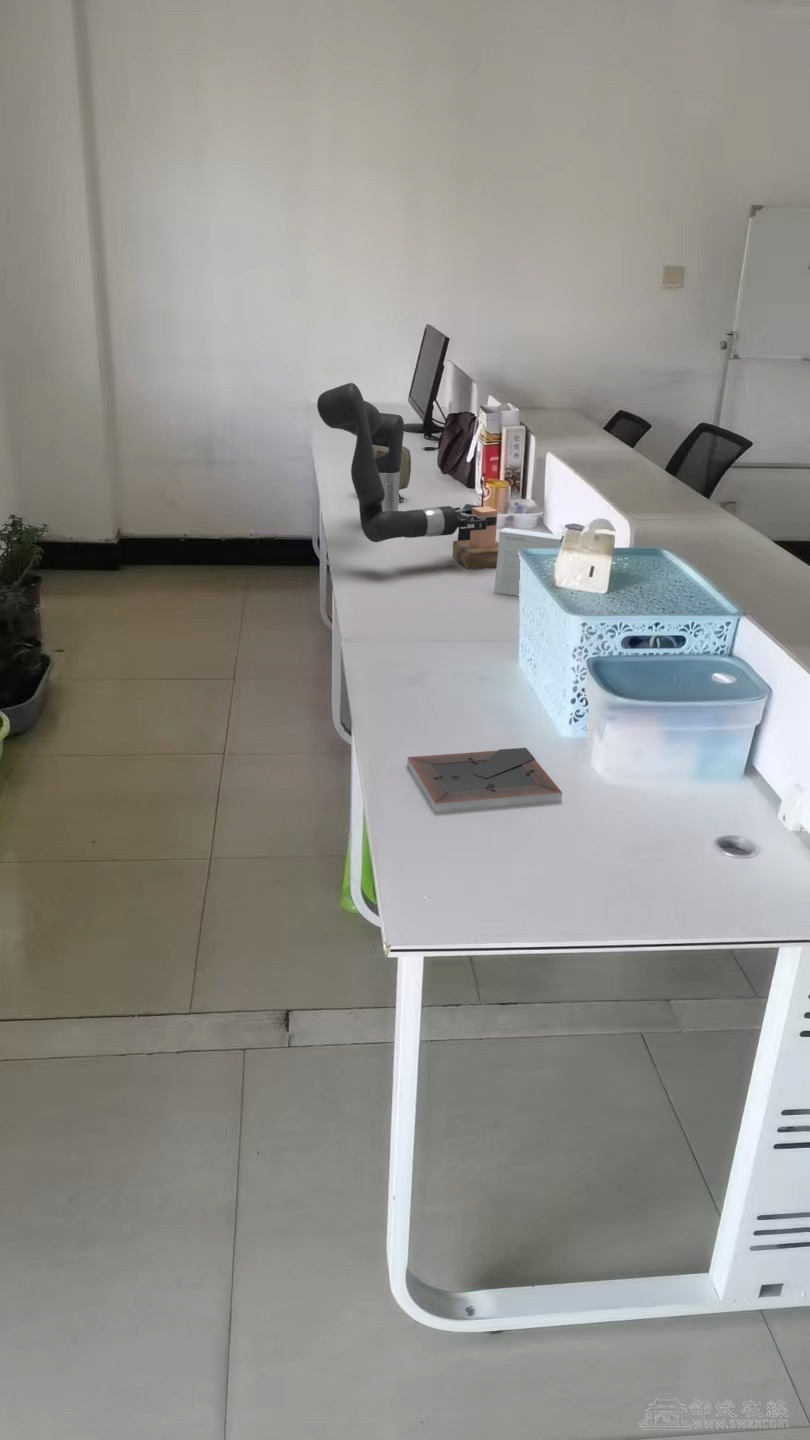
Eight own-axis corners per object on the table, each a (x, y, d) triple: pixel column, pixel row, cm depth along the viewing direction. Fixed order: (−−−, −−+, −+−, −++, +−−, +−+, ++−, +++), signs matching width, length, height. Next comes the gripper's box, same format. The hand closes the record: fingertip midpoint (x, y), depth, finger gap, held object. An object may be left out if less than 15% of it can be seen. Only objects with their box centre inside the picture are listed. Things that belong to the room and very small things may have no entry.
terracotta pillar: (469, 543, 302) (472, 507, 297) (485, 542, 304) (487, 506, 300) (479, 548, 298) (481, 512, 293) (494, 546, 300) (497, 510, 296)
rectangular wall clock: (524, 759, 195) (406, 768, 189) (526, 747, 194) (407, 755, 188) (560, 804, 181) (434, 816, 175) (562, 791, 179) (435, 802, 174)
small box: (478, 550, 313) (482, 514, 309) (456, 548, 314) (459, 511, 310) (484, 541, 322) (487, 505, 318) (462, 538, 324) (464, 503, 319)
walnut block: (452, 558, 306) (453, 540, 304) (491, 556, 310) (493, 539, 308) (469, 571, 296) (470, 553, 294) (509, 568, 300) (511, 551, 298)
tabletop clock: (409, 502, 361) (413, 424, 350) (394, 506, 354) (398, 427, 343) (372, 494, 368) (375, 417, 357) (356, 499, 360) (359, 420, 350)
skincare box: (579, 599, 277) (587, 537, 271) (575, 606, 273) (583, 543, 266) (498, 587, 283) (504, 526, 276) (493, 592, 278) (498, 531, 272)
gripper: (451, 514, 283) (503, 509, 291) (422, 501, 294) (473, 497, 302) (449, 542, 286) (500, 537, 294) (421, 528, 297) (471, 523, 305)
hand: (486, 516), depth 298 cm, fingers open, 8 cm apart
